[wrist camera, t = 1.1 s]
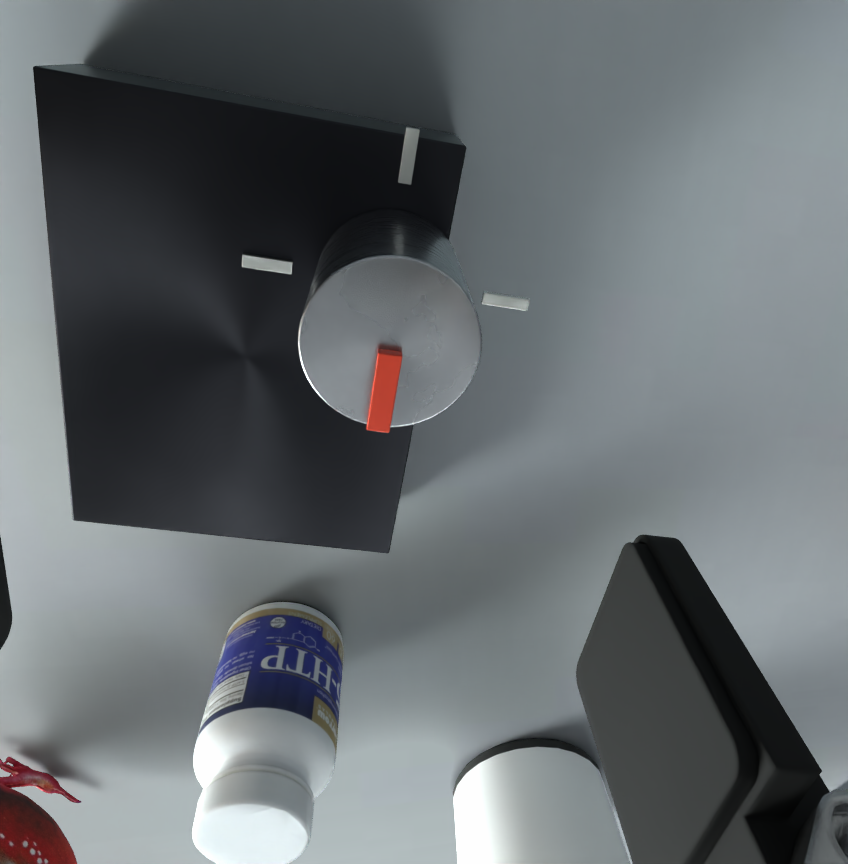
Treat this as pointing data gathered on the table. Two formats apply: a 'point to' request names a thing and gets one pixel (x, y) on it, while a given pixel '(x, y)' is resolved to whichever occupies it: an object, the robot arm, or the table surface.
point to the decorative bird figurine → (30, 820)
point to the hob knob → (389, 322)
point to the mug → (535, 808)
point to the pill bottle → (268, 735)
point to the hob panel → (217, 302)
